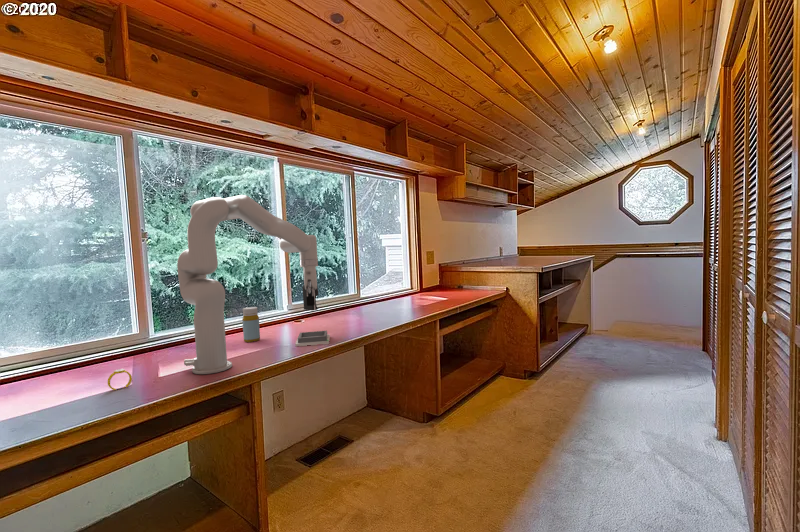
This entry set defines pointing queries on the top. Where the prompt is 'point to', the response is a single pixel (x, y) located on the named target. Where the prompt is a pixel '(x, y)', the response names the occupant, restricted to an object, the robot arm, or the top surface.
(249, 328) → the bottle
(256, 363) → the top surface
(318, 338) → the dock
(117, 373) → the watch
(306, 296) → the battery
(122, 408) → the top surface
